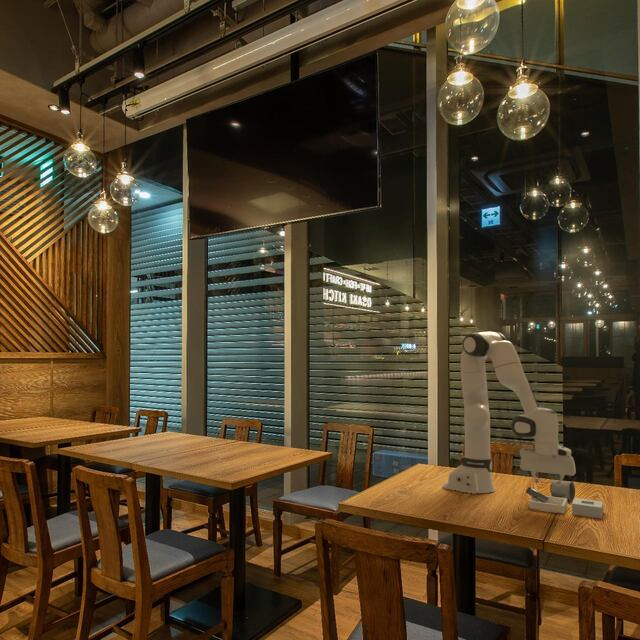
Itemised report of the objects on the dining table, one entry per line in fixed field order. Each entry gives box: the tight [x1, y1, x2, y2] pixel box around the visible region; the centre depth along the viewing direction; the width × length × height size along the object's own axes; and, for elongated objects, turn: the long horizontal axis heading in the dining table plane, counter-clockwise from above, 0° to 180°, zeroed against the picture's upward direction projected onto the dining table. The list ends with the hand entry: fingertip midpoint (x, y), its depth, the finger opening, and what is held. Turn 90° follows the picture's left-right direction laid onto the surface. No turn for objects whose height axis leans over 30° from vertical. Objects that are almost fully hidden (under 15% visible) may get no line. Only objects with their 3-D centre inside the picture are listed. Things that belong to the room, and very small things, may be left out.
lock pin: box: [525, 486, 549, 503], centre depth 209 cm, size 3×3×8 cm
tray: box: [528, 495, 569, 515], centre depth 206 cm, size 13×13×3 cm
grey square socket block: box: [571, 497, 604, 520], centre depth 199 cm, size 10×10×4 cm
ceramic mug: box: [549, 480, 576, 502], centre depth 218 cm, size 11×8×8 cm
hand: (547, 484), depth 206 cm, fingers open, 7 cm apart
